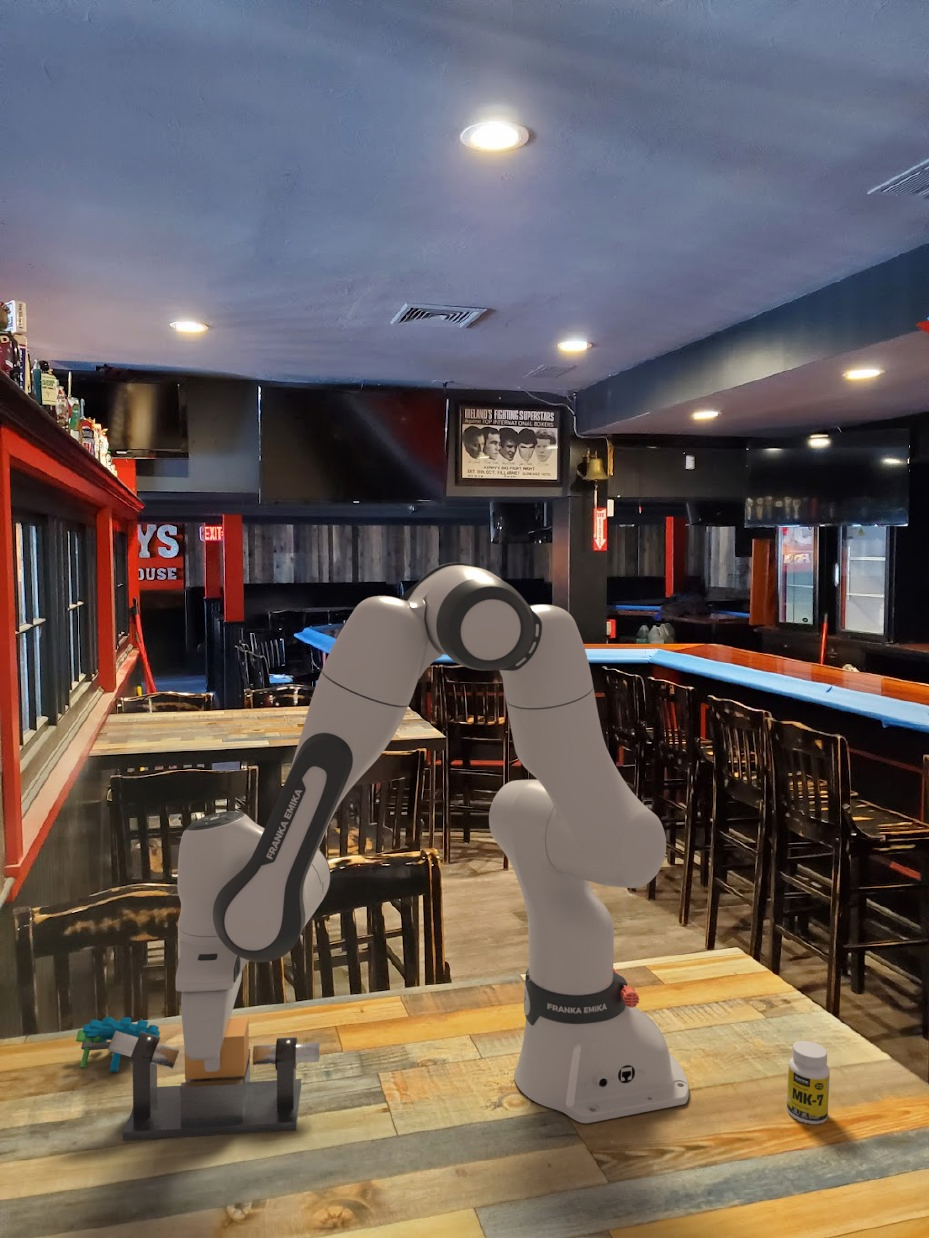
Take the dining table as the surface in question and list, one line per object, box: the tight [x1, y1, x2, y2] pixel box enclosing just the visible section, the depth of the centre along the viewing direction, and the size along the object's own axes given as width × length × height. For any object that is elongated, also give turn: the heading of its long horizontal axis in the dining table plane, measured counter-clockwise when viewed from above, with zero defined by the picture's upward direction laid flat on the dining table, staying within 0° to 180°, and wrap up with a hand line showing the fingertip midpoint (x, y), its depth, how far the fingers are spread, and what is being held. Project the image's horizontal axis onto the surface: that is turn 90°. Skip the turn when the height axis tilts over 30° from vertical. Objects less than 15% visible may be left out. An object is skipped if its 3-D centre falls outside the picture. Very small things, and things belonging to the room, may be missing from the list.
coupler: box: [184, 1017, 250, 1081], centre depth 109 cm, size 7×4×6 cm, turn 97°
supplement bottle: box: [786, 1040, 831, 1125], centre depth 111 cm, size 5×5×8 cm
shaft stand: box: [107, 1031, 321, 1141], centre depth 110 cm, size 25×9×11 cm, turn 97°
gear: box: [75, 1016, 161, 1073], centre depth 120 cm, size 11×6×10 cm
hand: (216, 1054), depth 110 cm, fingers closed on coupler, 4 cm apart
